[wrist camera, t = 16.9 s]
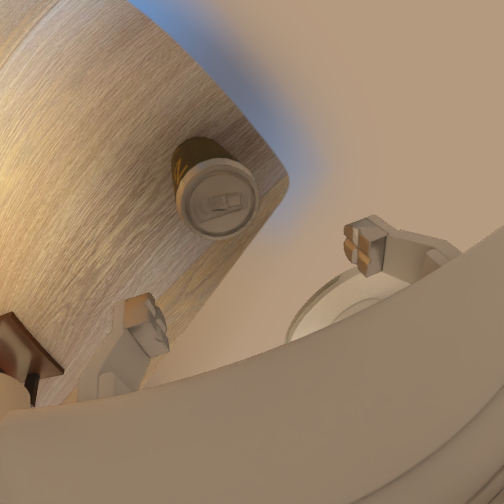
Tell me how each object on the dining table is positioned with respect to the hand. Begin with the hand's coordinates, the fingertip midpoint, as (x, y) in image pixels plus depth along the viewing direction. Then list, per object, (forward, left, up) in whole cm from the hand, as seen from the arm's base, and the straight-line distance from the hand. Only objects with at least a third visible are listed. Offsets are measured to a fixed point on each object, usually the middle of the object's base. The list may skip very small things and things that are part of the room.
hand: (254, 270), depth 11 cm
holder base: (-16, +39, -19) cm, 46 cm away
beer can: (0, 0, -19) cm, 19 cm away
